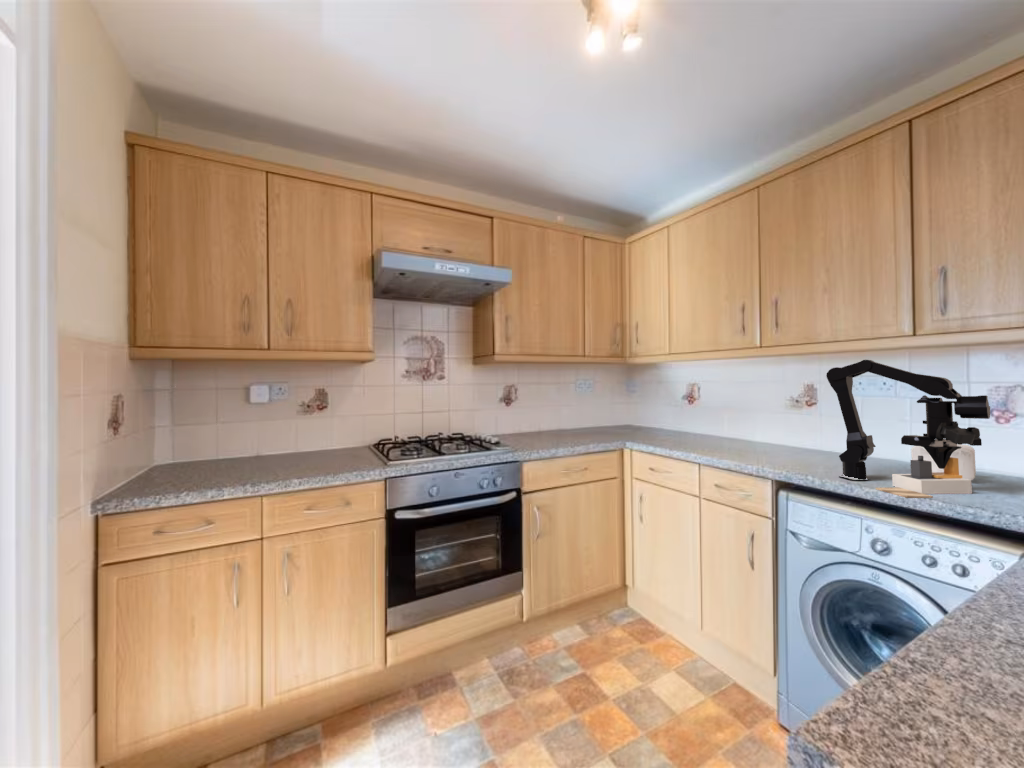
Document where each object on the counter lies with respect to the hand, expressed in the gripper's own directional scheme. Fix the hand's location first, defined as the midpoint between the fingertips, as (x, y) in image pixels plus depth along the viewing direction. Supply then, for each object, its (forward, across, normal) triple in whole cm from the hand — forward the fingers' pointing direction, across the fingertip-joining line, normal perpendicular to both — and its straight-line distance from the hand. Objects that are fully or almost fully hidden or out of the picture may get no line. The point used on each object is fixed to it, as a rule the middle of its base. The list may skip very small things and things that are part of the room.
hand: (941, 468), depth 127 cm
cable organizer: (+7, +16, +17) cm, 25 cm away
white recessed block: (+6, -4, 0) cm, 7 cm away
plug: (+4, -6, 0) cm, 7 cm away
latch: (+2, 0, 0) cm, 2 cm away
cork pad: (+6, -15, -4) cm, 17 cm away
